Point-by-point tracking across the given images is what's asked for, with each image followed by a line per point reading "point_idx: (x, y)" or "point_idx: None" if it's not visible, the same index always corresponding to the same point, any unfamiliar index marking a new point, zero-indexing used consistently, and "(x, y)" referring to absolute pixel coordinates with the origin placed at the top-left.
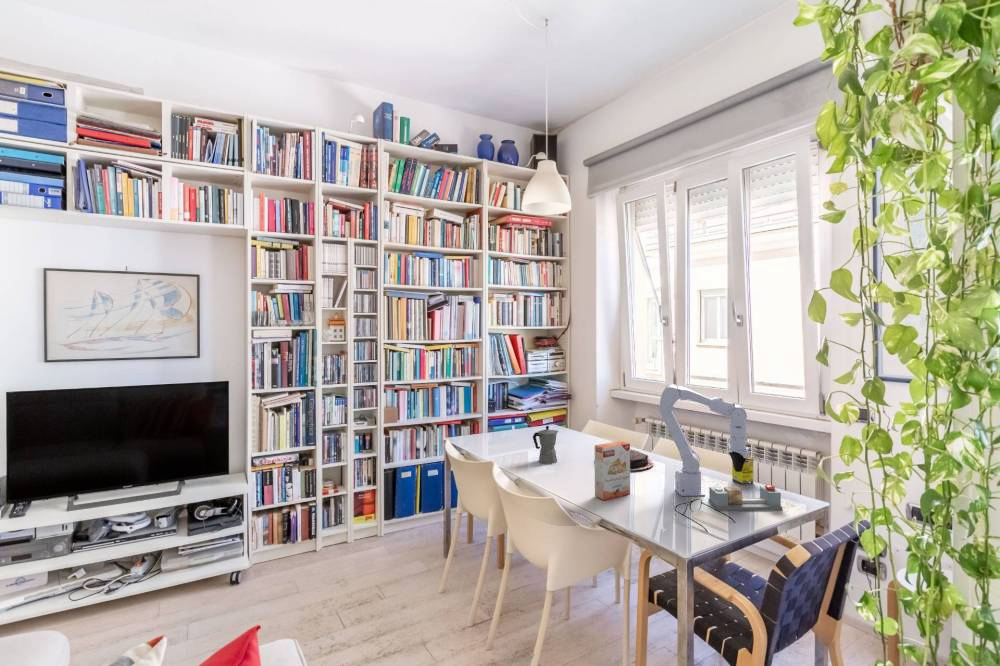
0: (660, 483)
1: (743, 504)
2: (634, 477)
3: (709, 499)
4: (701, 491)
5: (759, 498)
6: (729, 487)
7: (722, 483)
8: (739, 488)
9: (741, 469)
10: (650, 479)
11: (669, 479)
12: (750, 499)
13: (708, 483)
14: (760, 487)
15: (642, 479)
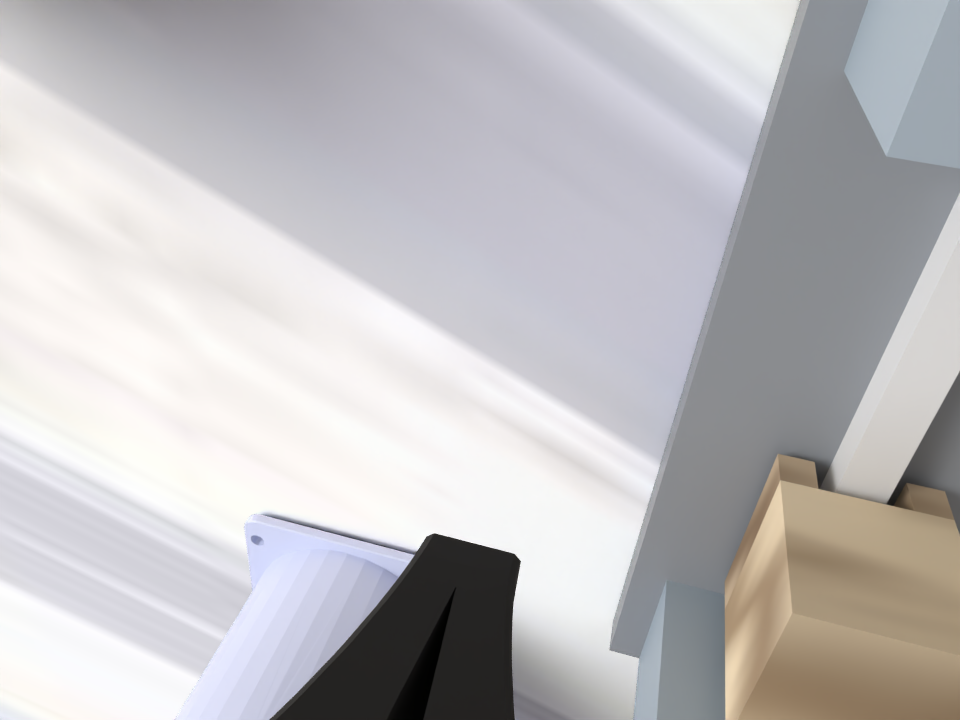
0: (129, 661)
1: (945, 469)
2: (24, 716)
3: (638, 655)
4: (359, 552)
5: (828, 72)
6: (782, 712)
7: (4, 133)
8: (893, 642)
9: (508, 612)
10: (44, 665)
11: (8, 559)
12: (923, 354)
13: (45, 306)
14: (912, 153)
15: (57, 702)
